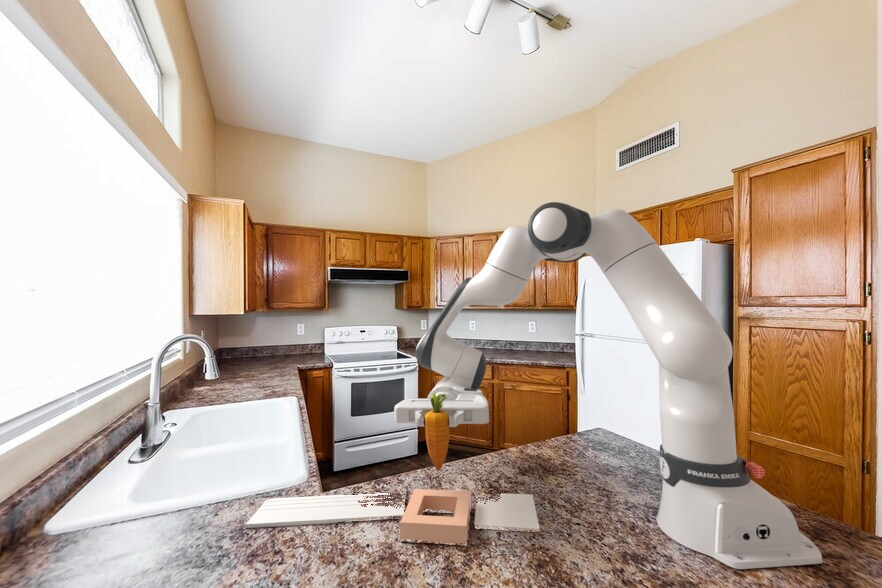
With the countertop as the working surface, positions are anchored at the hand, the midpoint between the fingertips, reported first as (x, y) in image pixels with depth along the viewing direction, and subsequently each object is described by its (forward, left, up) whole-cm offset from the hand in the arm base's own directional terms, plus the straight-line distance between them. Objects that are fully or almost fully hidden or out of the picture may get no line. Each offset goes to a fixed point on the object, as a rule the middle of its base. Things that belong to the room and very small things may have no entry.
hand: (436, 422), depth 69 cm
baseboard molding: (+24, -5, -20) cm, 32 cm away
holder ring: (0, -1, -20) cm, 20 cm away
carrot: (0, -1, -10) cm, 10 cm away
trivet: (-13, -6, -20) cm, 24 cm away
